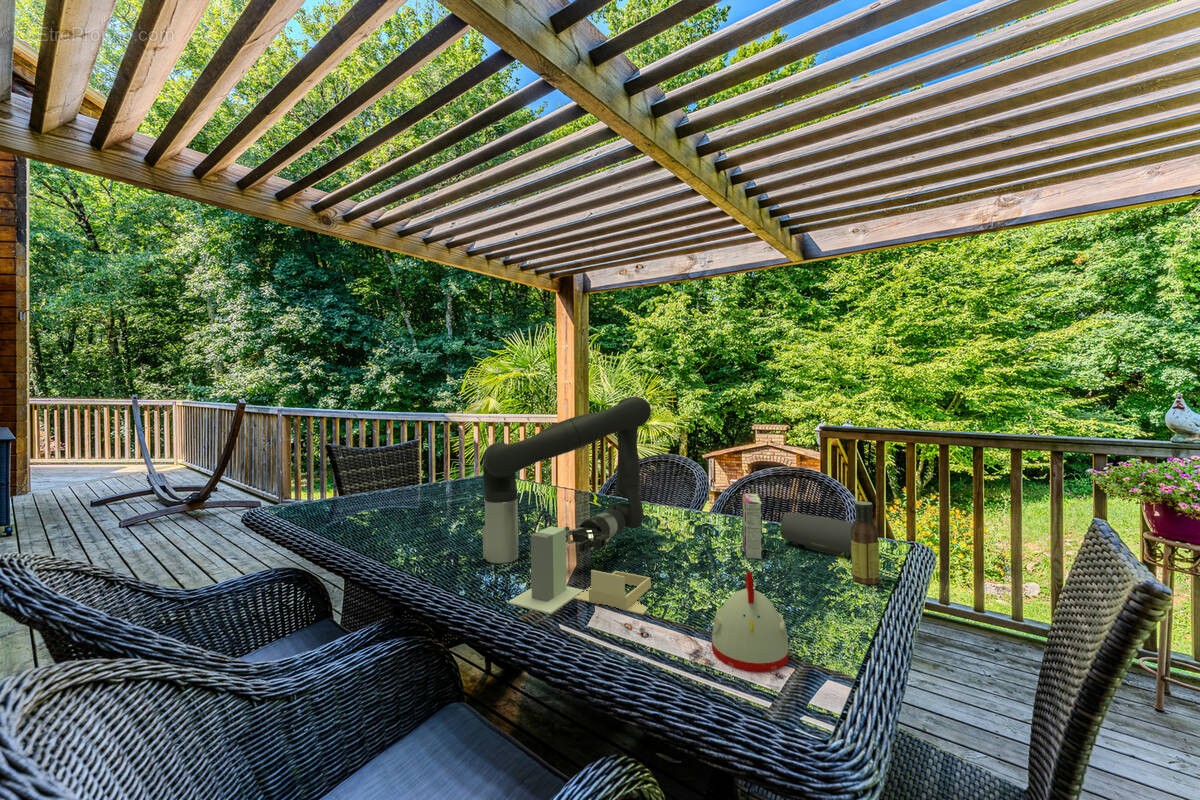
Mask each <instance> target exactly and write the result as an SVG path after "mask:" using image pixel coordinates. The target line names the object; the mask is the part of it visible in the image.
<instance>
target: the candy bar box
mask: <svg viewBox="0 0 1200 800" xmlns="http://www.w3.org/2000/svg"><path fill="white" fill-rule="evenodd" d="M741 494H742V496H741V497H742V499H741V500H742V547H743V552H744V557H745V559H748V560H763V502H762V499H761V497H760V494H759V493H747V492H746V493H741Z"/></svg>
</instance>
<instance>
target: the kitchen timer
mask: <svg viewBox="0 0 1200 800" xmlns="http://www.w3.org/2000/svg"><path fill="white" fill-rule="evenodd" d="M745 576H746V577H745V588H742V589H739V590H738V591H736V592H734V593H733V594H732V595H730V596H729V597H728V598H727V599H726V601H724V604H723V605H722V607H721V608H717V610H716V613H715V616H714V621H713V627H712V636H711V651H712V653H713V656H714V657H716V659H717V660H719V661H720V662H722V663H723V664H725V665H726V666H729V667H731V668H734V669H737V670H740V671H744V672H753V673H769V672H773V671H778V670H780V669H782V668H783V667H785V666H786V665H787V663H788V662H789V641H788V639H789V637H788V631H787V626H786V622H785V620H784V618H783V616H782V613H780V612H778V611H777V609H776V608H775V606H774V605H773V603H772V602H771V601H770V599H768V598H767V597H766V596H765V595H764V594H763V593H761V592H760V591H758V590H755V589H754V578H753V571H747V572H746V575H745Z"/></svg>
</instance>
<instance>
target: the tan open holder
mask: <svg viewBox="0 0 1200 800" xmlns="http://www.w3.org/2000/svg"><path fill="white" fill-rule="evenodd" d="M651 580H652V578H651V577H650V576H649V577H648V576H643V575H639V574H634V573H630V572H624V571H618V570H614V571H613V572H611V573H609V572H604V571H599V570H594V569H591V570H590V584H591V585H590V586H589V587H587V588H586V589H583V590H584V592H581V593H580V594H579V595H577V596H576V597H574V599H575V600H579V601H583V602H586V601H587V603H590V604H591V603H592V604H595V603H596V604H595V605H599V604H603V605H608V606H611V607H610V608H612V607H616V608H619V609H618V610H620V609H621V610H622V611H625V612H630V613H633V614H638V615H642V616H643V615H644V614H646V612H647V611H648V610H649V609H648V607H646V606H644V605H643V604H642V605H641V604H640V603H639V602H638V601H637V600H638V599H639V597H641V595H643V594H644V593H645V592H646V591H647V590H648V589H650V588H651V589H652V587H651V582H652V581H651ZM625 584H628V585H634V586H637V587H636V588H635V587H634V588H633V589H632V590H631V591H630V592H628V593H627V594H626V586H625ZM590 587H591V588H590ZM586 590H588V591H586ZM574 599H573V600H574ZM638 603H639V604H638ZM603 605H602V606H603ZM608 606H607V607H608ZM616 608H615V609H616ZM647 609H648V610H647Z"/></svg>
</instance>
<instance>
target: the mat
mask: <svg viewBox="0 0 1200 800" xmlns="http://www.w3.org/2000/svg"><path fill="white" fill-rule="evenodd" d="M584 590H585V589H582V588H577V587H572V586H568V585H567V590H565V591H564V592H562V593H561V594H559V595H558V596H556V597H555V598H553V599H551V600H550V601H548V602H545V601H541V600H537V599H533V598H532V587H531V588H529V589H527V590H525V591H524V592H522V593H520V594H518V595H517V596H515V597H512V598H511V599H510V600H508V601H507V604H509V605H512V606H513V605H514V606H516V605H517V607H519V608H520V607H521V608H525V609H529V610H531V611H537V612H540V613H543V614H547V615H552V614H554V613H555V612H557V611H558V610H559V609H561V608H562V607H564V606H566V605H567V604H568V603H569V602H571V601H572V600H574V597H576V596H577V595H578V594H580V593H581V592H582V591H584Z"/></svg>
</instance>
